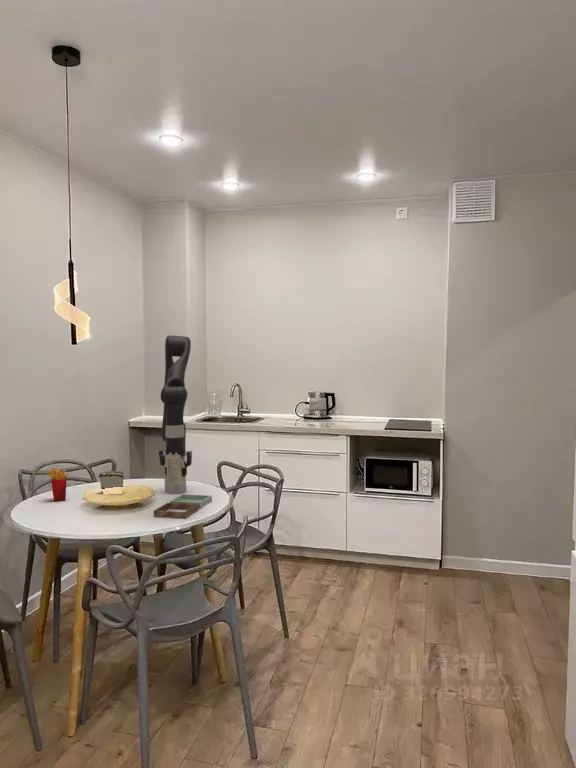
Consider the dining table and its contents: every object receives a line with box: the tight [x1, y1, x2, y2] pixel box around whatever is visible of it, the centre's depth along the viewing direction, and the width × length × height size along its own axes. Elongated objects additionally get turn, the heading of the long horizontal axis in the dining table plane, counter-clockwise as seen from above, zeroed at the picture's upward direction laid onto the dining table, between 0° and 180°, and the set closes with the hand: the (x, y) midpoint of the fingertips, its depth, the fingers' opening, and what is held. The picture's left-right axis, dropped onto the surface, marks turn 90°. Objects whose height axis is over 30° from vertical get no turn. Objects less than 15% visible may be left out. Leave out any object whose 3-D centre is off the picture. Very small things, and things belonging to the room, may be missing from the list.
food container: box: [98, 470, 126, 489], centre depth 283 cm, size 12×6×10 cm, turn 84°
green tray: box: [169, 493, 213, 510], centre depth 260 cm, size 14×13×2 cm
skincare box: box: [165, 454, 185, 485], centre depth 246 cm, size 6×4×12 cm
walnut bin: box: [153, 502, 200, 520], centre depth 246 cm, size 14×13×2 cm
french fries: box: [45, 466, 68, 503], centre depth 269 cm, size 9×8×15 cm
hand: (176, 476), depth 246 cm, fingers closed on skincare box, 6 cm apart
